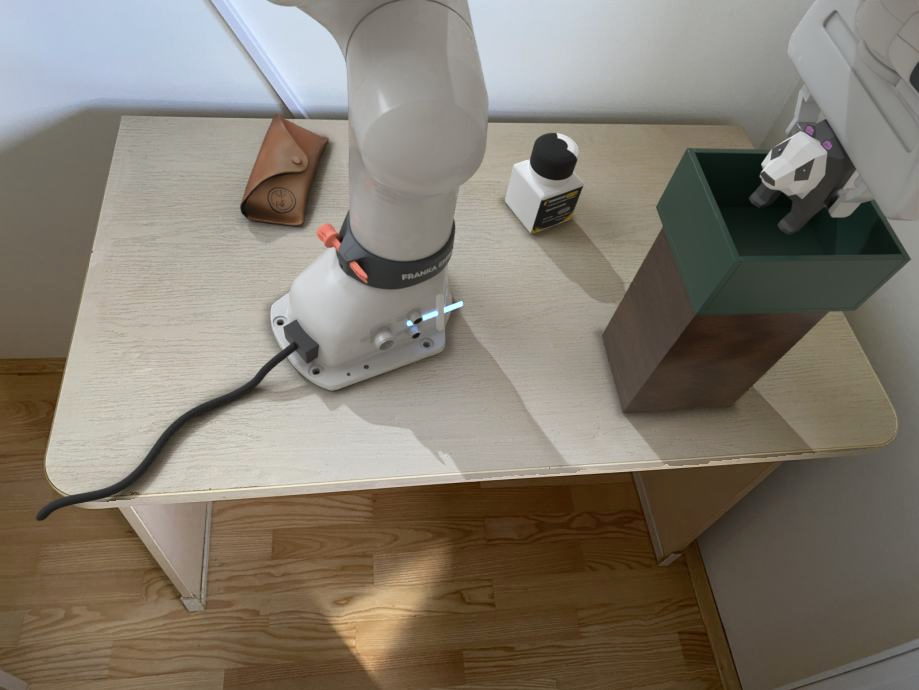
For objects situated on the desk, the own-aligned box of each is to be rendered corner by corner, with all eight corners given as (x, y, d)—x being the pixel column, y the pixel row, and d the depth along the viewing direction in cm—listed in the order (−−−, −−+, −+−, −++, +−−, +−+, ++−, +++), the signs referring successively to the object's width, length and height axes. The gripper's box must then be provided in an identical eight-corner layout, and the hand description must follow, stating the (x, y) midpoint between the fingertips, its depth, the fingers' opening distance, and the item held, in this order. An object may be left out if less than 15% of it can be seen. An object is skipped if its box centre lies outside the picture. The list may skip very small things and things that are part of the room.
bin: (695, 315, 59) (735, 261, 53) (655, 207, 66) (686, 147, 60) (855, 311, 62) (911, 259, 56) (800, 207, 69) (845, 150, 62)
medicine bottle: (530, 235, 92) (551, 170, 82) (503, 201, 95) (520, 134, 85) (571, 220, 94) (596, 155, 84) (543, 187, 97) (564, 120, 87)
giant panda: (812, 164, 62) (879, 74, 54) (858, 203, 60) (935, 116, 52) (703, 215, 56) (760, 123, 48) (749, 260, 54) (817, 172, 46)
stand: (622, 413, 78) (702, 305, 60) (601, 335, 84) (668, 215, 66) (730, 407, 81) (839, 301, 62) (702, 332, 87) (795, 215, 68)
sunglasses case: (306, 226, 87) (275, 190, 82) (263, 238, 90) (231, 204, 85) (331, 135, 97) (304, 98, 92) (291, 148, 99) (264, 113, 94)
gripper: (829, -69, 48) (738, 92, 60) (974, 118, 38) (829, 270, 49) (904, -63, 49) (800, 94, 61) (1066, 121, 39) (903, 269, 50)
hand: (814, 174), depth 55 cm, fingers closed on giant panda, 7 cm apart
